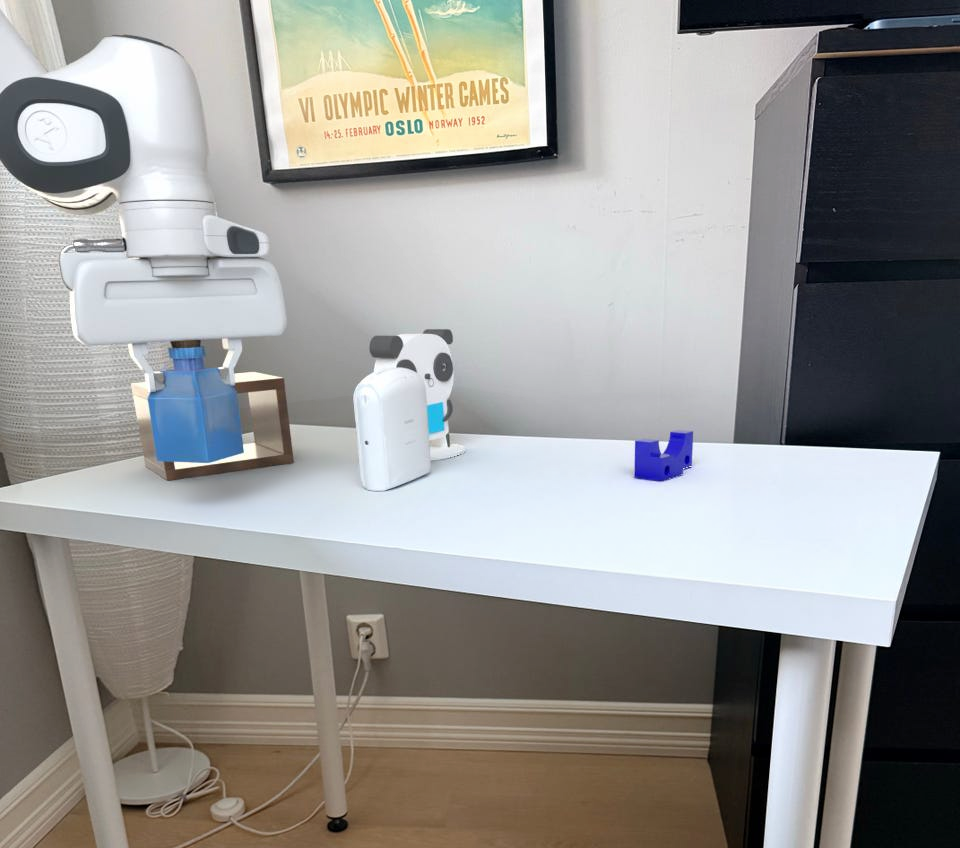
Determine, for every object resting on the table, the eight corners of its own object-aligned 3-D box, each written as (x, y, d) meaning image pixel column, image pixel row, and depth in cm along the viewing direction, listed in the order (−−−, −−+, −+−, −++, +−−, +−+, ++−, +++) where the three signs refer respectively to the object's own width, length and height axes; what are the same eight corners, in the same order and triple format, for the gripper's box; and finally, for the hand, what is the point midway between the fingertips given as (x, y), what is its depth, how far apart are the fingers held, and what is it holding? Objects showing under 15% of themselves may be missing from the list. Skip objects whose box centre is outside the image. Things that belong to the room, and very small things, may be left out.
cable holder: (661, 481, 98) (662, 443, 97) (634, 477, 101) (635, 440, 99) (703, 468, 103) (704, 432, 102) (676, 465, 106) (677, 429, 104)
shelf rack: (166, 480, 111) (151, 390, 107) (145, 466, 121) (130, 383, 117) (294, 462, 118) (284, 377, 114) (264, 450, 128) (254, 371, 124)
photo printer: (389, 492, 99) (379, 373, 95) (356, 490, 101) (344, 373, 96) (436, 473, 108) (430, 363, 103) (405, 471, 109) (397, 363, 105)
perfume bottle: (194, 451, 99) (178, 333, 95) (244, 452, 97) (229, 332, 93) (157, 461, 94) (137, 336, 89) (208, 463, 92) (191, 335, 87)
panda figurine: (421, 465, 113) (412, 336, 107) (356, 457, 119) (344, 335, 114) (483, 449, 121) (477, 328, 116) (419, 442, 128) (411, 328, 122)
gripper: (58, 237, 81) (87, 399, 86) (284, 236, 90) (298, 383, 95) (49, 240, 86) (77, 394, 91) (264, 239, 95) (278, 379, 100)
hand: (192, 388), depth 93 cm, fingers closed on perfume bottle, 5 cm apart
